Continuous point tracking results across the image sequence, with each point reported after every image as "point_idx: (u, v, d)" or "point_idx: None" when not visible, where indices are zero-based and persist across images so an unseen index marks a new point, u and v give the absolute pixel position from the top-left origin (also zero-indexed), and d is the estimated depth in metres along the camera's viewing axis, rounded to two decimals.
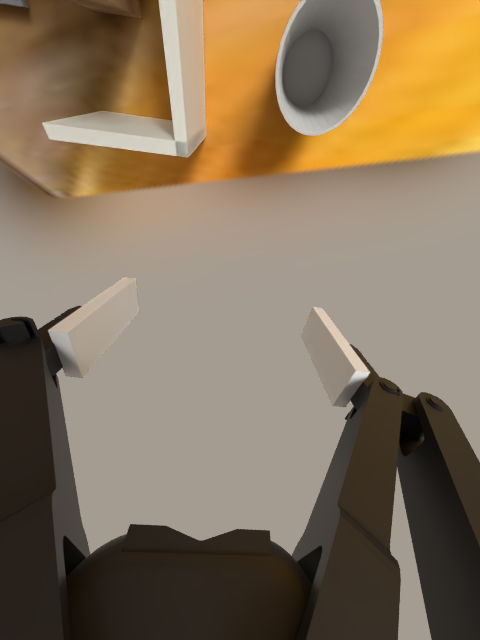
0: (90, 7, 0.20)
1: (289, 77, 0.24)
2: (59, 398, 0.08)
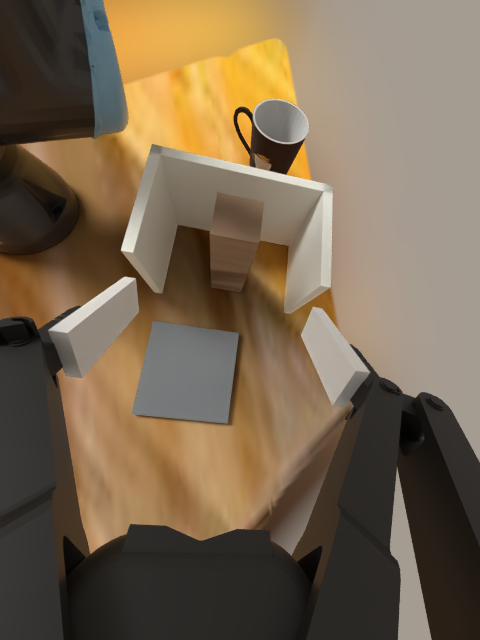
0: None
1: None
2: (59, 398, 0.08)
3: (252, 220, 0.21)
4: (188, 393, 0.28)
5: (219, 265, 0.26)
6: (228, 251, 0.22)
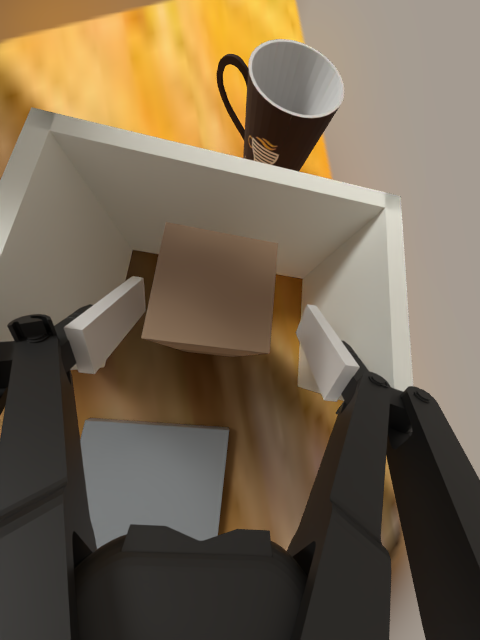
0: None
1: None
2: (72, 394, 0.08)
3: (250, 291, 0.09)
4: None
5: (189, 349, 0.14)
6: (200, 348, 0.10)
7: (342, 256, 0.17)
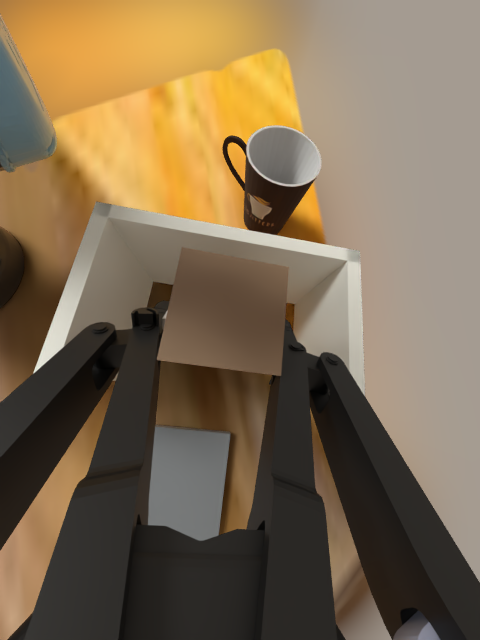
0: None
1: None
2: (158, 379, 0.10)
3: (262, 314, 0.09)
4: None
5: None
6: None
7: (321, 291, 0.21)
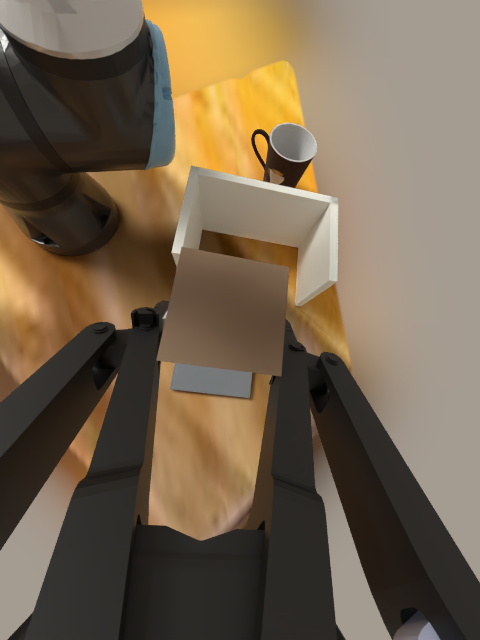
0: None
1: None
2: (158, 380, 0.10)
3: (262, 314, 0.09)
4: (216, 372, 0.34)
5: None
6: None
7: (316, 228, 0.34)
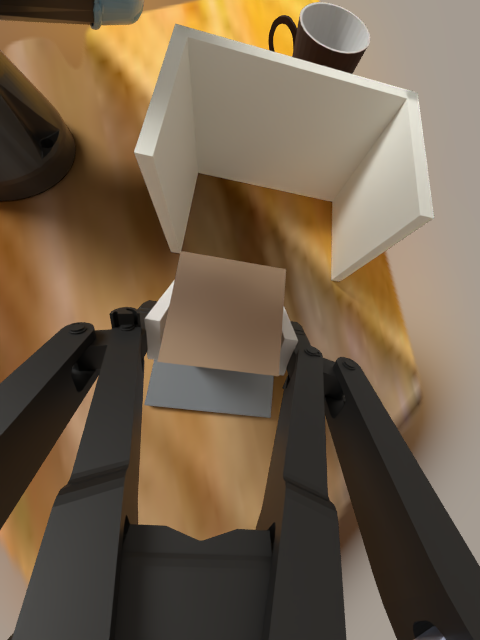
0: None
1: None
2: (142, 380, 0.09)
3: (260, 315, 0.09)
4: (218, 378, 0.22)
5: None
6: None
7: (371, 156, 0.22)
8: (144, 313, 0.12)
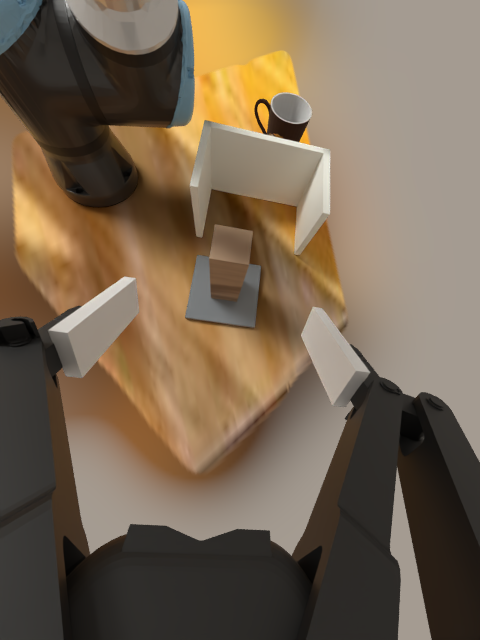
0: None
1: None
2: (59, 398, 0.08)
3: (243, 246, 0.26)
4: (225, 305, 0.38)
5: (217, 281, 0.31)
6: (224, 270, 0.27)
7: (311, 180, 0.39)
8: None
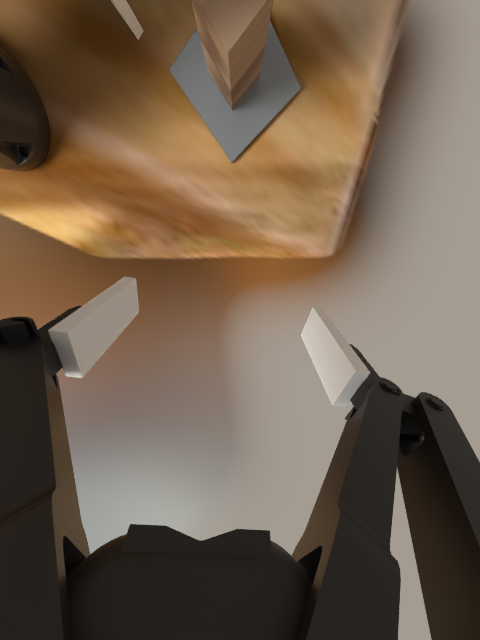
0: None
1: None
2: (59, 398, 0.08)
3: None
4: (252, 100, 0.29)
5: (238, 75, 0.22)
6: (245, 47, 0.19)
7: None
8: None
